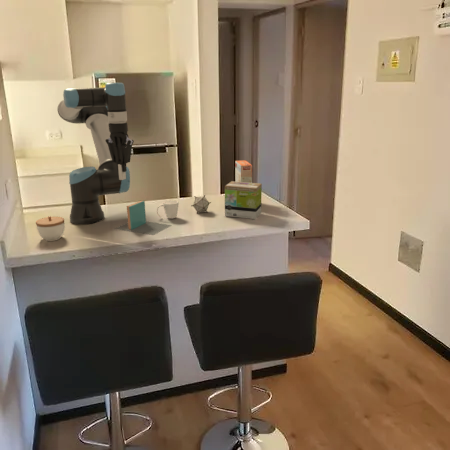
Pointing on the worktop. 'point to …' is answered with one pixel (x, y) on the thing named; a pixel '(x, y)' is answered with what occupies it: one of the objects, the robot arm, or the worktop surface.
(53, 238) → the lidded jar
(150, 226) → the mat
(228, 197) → the tea box
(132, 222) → the tile
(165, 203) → the cup
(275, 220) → the worktop surface
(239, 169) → the cracker box
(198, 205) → the game die
